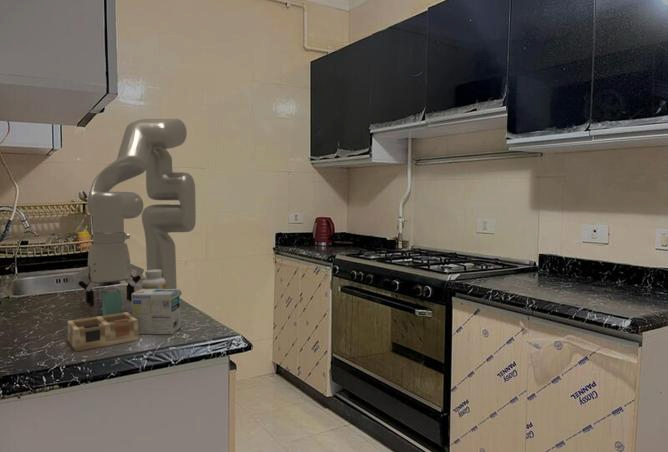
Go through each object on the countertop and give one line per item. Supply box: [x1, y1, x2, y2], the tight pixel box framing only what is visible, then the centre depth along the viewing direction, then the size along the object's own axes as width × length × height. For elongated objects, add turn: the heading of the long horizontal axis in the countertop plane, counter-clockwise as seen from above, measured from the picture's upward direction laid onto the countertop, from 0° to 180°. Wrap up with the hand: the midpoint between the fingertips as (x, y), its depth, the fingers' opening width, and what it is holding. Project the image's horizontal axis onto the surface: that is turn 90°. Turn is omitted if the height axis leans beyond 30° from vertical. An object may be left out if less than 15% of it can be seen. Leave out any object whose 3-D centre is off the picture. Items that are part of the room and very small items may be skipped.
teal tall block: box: [101, 287, 123, 316], centre depth 132 cm, size 4×4×11 cm
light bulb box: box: [131, 288, 182, 335], centre depth 130 cm, size 11×7×11 cm, turn 89°
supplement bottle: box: [141, 269, 166, 289], centre depth 148 cm, size 7×7×13 cm
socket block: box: [66, 311, 139, 352], centre depth 122 cm, size 10×14×5 cm
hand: (110, 302), depth 132 cm, fingers open, 9 cm apart
